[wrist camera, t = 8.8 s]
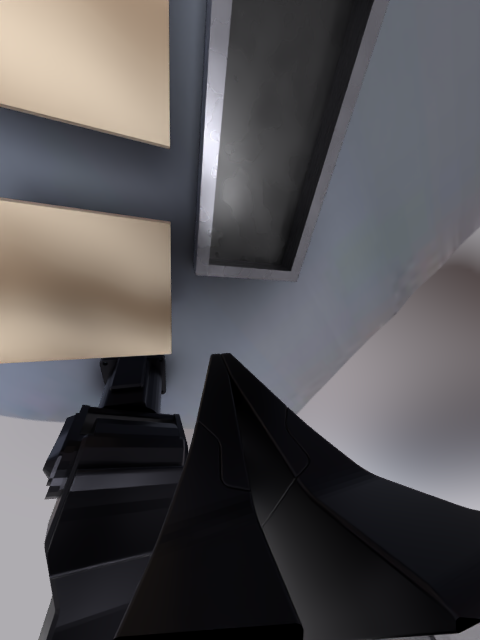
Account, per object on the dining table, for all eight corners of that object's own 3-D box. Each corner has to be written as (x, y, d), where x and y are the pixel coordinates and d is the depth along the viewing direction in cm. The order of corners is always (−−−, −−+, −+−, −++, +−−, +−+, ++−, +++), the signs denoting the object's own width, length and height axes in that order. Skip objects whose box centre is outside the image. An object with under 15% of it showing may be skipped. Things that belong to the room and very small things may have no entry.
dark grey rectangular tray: (285, 273, 22) (296, 281, 20) (193, 265, 19) (195, 275, 17) (378, -46, 12) (419, -91, 10) (215, -176, 9) (228, -278, 7)
